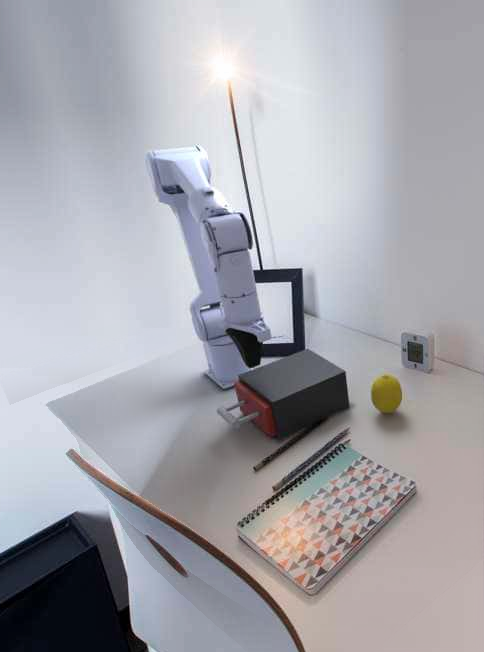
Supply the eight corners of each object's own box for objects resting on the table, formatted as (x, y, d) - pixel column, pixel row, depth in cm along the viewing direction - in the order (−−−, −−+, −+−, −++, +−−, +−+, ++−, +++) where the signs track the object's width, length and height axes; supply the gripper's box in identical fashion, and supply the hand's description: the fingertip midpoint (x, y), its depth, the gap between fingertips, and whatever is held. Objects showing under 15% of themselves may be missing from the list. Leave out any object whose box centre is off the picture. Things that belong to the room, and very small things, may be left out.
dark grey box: (279, 440, 90) (272, 402, 86) (245, 410, 98) (237, 375, 94) (349, 406, 98) (345, 371, 95) (312, 381, 106) (307, 348, 103)
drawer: (243, 449, 86) (236, 420, 83) (214, 421, 94) (206, 393, 91) (337, 406, 97) (333, 378, 94) (303, 383, 104) (299, 357, 101)
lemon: (399, 423, 93) (397, 384, 89) (369, 420, 94) (365, 381, 90) (406, 405, 98) (404, 368, 94) (377, 403, 99) (374, 366, 95)
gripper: (195, 286, 87) (213, 358, 94) (234, 311, 78) (251, 389, 85) (236, 276, 91) (250, 346, 98) (277, 298, 82) (290, 374, 89)
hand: (253, 365), depth 92 cm, fingers closed
